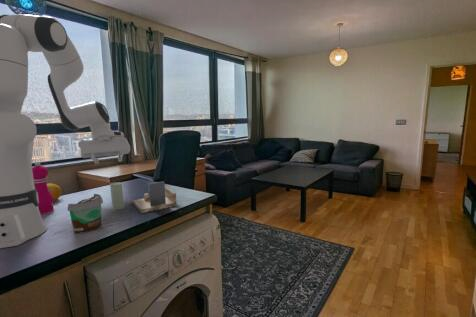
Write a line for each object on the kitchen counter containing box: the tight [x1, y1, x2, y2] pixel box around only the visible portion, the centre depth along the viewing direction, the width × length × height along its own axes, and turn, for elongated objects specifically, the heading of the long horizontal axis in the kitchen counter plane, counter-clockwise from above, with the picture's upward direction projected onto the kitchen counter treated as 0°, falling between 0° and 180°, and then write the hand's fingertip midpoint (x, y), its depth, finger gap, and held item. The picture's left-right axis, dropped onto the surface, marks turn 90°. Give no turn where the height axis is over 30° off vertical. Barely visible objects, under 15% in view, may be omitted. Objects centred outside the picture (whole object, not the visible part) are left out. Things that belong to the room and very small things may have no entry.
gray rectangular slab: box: [148, 181, 166, 206], centre depth 108 cm, size 6×1×9 cm, turn 124°
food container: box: [67, 193, 104, 234], centre depth 90 cm, size 12×6×10 cm, turn 168°
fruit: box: [47, 182, 62, 202], centre depth 120 cm, size 9×8×8 cm
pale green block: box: [109, 181, 125, 211], centre depth 110 cm, size 4×5×10 cm
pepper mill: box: [32, 161, 55, 215], centre depth 106 cm, size 7×7×20 cm
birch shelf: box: [132, 186, 177, 214], centre depth 113 cm, size 14×14×6 cm
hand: (109, 161), depth 119 cm, fingers open, 8 cm apart
